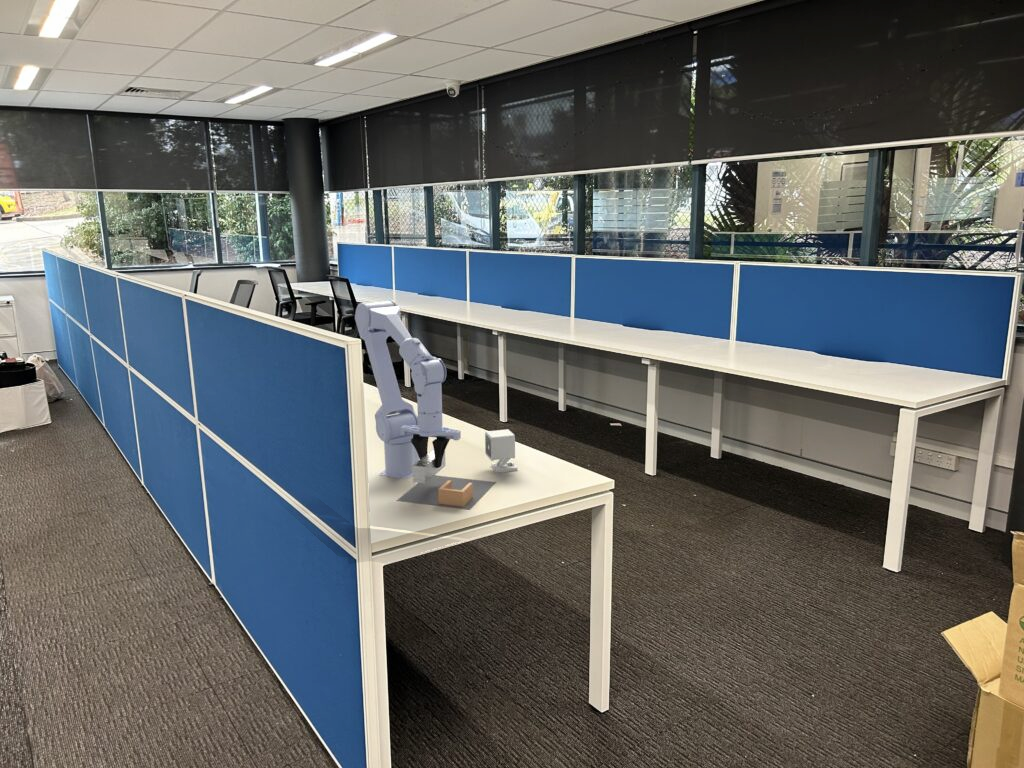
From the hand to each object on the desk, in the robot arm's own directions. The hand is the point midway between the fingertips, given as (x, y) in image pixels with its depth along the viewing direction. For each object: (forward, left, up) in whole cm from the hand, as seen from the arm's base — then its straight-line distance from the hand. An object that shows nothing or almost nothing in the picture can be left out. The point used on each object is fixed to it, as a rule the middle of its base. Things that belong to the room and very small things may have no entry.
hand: (431, 465), depth 176 cm
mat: (+1, +5, -6) cm, 8 cm away
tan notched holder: (+6, +9, -5) cm, 12 cm away
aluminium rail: (+1, 0, -2) cm, 2 cm away
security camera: (-18, +12, -6) cm, 22 cm away
